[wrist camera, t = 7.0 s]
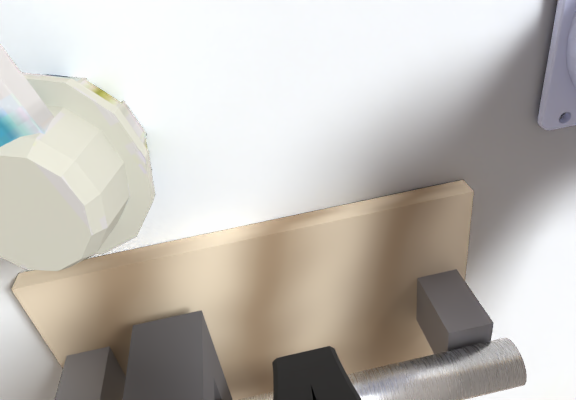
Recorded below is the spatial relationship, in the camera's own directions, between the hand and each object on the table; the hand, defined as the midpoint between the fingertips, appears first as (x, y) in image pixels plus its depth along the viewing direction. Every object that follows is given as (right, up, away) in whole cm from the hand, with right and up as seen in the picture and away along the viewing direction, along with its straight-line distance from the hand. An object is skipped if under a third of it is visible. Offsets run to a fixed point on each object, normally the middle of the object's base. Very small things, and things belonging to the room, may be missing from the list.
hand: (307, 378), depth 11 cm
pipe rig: (-1, -2, +14) cm, 14 cm away
